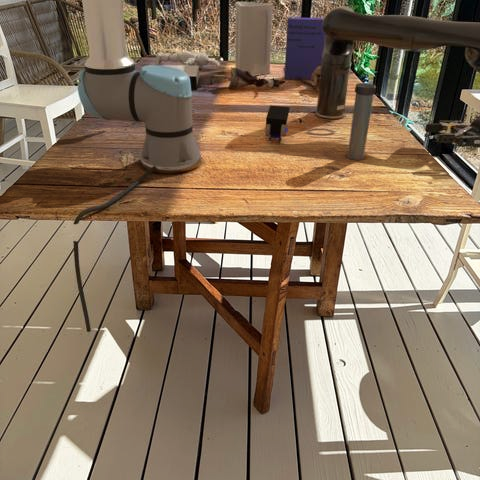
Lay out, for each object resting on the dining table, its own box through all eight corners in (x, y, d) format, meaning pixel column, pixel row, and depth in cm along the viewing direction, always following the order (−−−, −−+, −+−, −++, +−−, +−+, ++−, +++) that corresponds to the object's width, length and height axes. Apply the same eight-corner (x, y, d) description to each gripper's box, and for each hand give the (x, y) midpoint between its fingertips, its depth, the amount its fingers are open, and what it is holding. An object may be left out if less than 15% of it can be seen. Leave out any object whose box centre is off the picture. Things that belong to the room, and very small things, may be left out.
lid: (364, 95, 117) (365, 88, 116) (350, 91, 120) (351, 84, 120) (379, 93, 119) (380, 86, 118) (365, 89, 123) (366, 82, 122)
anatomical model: (320, 94, 199) (320, 96, 185) (305, 80, 198) (304, 80, 184) (342, 71, 195) (344, 70, 181) (327, 56, 194) (328, 54, 180)
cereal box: (323, 77, 210) (330, 17, 198) (324, 80, 206) (331, 19, 193) (284, 76, 211) (287, 16, 198) (284, 78, 207) (288, 18, 194)
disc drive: (152, 89, 188) (151, 76, 185) (159, 76, 207) (158, 64, 205) (196, 89, 188) (196, 76, 186) (199, 76, 208) (199, 64, 205)
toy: (175, 75, 210) (174, 58, 206) (151, 64, 228) (150, 49, 224) (222, 69, 222) (222, 53, 218) (195, 59, 239) (195, 45, 236)
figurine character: (286, 149, 136) (289, 127, 148) (287, 124, 131) (290, 104, 143) (262, 148, 137) (267, 126, 149) (263, 123, 132) (268, 103, 144)
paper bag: (273, 76, 210) (276, 6, 196) (239, 77, 209) (240, 6, 194) (266, 67, 226) (268, 2, 212) (235, 67, 225) (235, 1, 210)
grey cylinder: (355, 161, 126) (365, 90, 116) (343, 155, 129) (353, 86, 120) (367, 158, 128) (378, 88, 118) (355, 153, 131) (365, 84, 122)
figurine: (210, 87, 179) (288, 95, 182) (212, 65, 176) (291, 73, 180) (208, 84, 201) (278, 91, 205) (210, 64, 198) (280, 71, 202)
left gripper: (214, -58, 143) (215, 20, 153) (135, -59, 146) (141, 17, 157) (207, -58, 136) (209, 23, 147) (125, -59, 140) (133, 20, 151)
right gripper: (501, 156, 122) (438, 156, 121) (476, 137, 134) (419, 137, 133) (510, 127, 118) (445, 127, 117) (483, 111, 130) (424, 111, 130)
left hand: (174, 20), depth 152 cm, fingers open, 13 cm apart
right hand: (431, 132), depth 125 cm, fingers open, 8 cm apart
